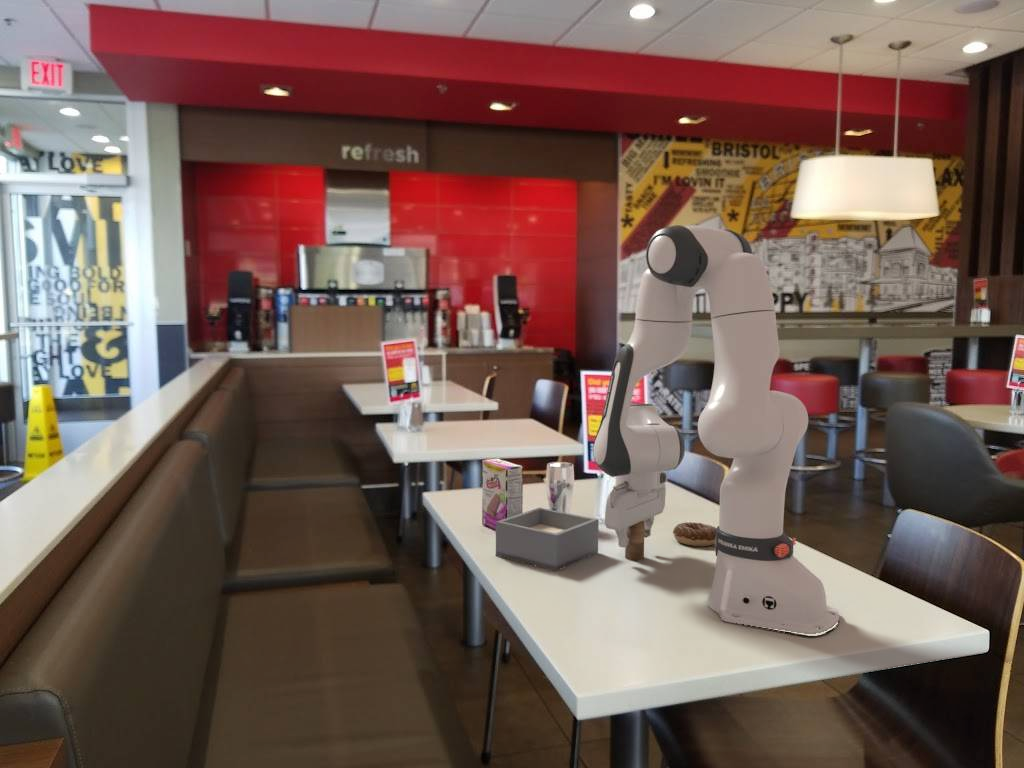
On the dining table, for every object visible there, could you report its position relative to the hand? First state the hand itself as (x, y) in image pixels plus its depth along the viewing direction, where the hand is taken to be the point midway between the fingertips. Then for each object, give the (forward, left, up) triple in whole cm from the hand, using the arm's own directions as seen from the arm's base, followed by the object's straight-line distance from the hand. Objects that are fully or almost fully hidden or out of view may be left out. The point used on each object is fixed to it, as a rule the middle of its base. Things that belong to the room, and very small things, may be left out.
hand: (634, 541), depth 172 cm
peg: (0, 0, -4) cm, 4 cm away
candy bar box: (+36, +1, -4) cm, 36 cm away
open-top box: (+16, +10, -4) cm, 19 cm away
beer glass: (+28, -12, -4) cm, 31 cm away
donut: (-5, -20, -4) cm, 21 cm away
